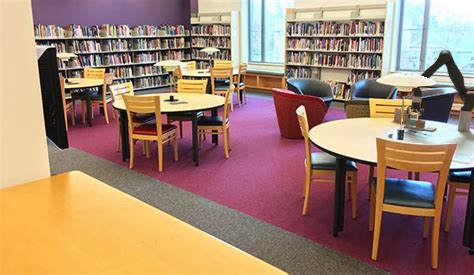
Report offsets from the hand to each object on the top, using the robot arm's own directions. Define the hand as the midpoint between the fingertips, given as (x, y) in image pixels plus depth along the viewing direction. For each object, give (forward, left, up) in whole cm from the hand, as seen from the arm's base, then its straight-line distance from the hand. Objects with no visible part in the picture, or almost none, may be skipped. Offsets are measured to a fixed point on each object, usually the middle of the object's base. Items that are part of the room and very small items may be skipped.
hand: (414, 119), depth 373 cm
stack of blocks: (-13, -11, -7) cm, 19 cm away
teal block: (-1, 0, -6) cm, 6 cm away
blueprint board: (+9, +8, -6) cm, 14 cm away
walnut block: (+9, +8, -5) cm, 13 cm away
